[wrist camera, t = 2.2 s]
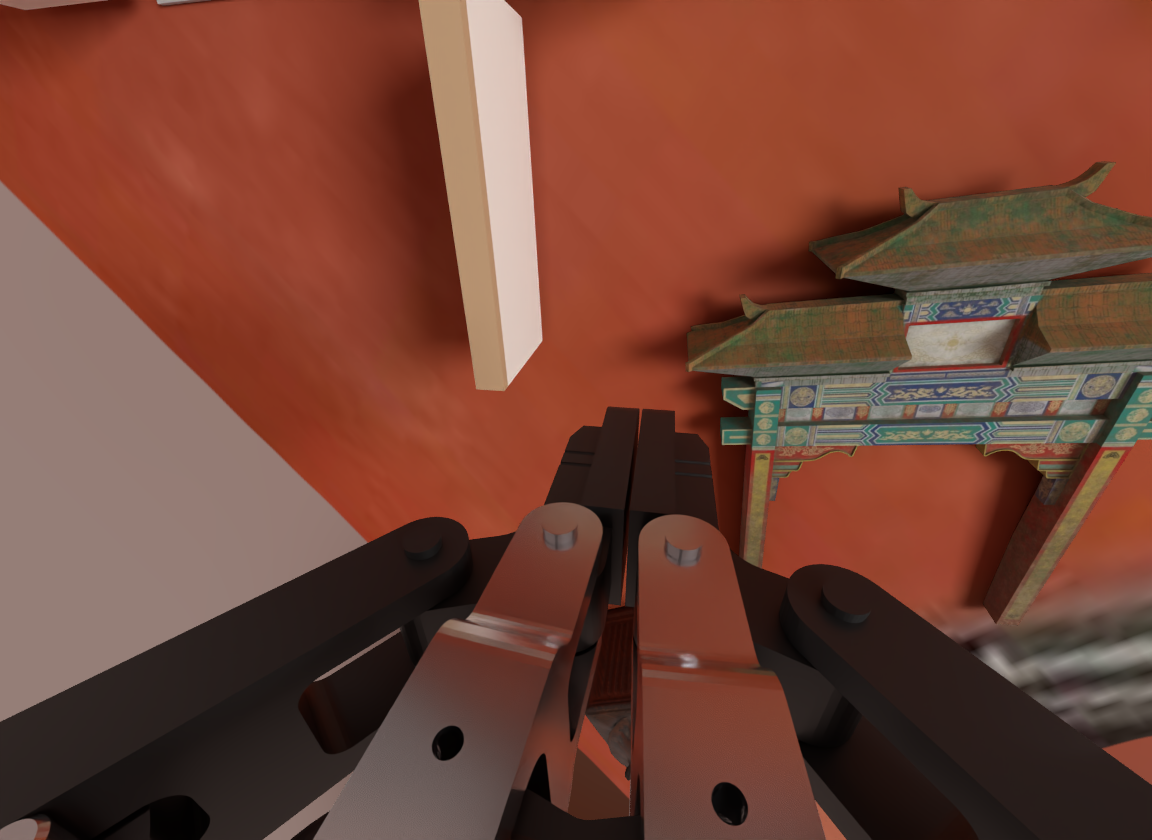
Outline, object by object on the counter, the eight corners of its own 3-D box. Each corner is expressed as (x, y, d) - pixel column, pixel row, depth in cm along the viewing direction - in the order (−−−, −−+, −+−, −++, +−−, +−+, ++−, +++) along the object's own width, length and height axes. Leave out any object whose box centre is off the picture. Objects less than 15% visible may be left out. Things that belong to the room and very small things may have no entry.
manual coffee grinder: (590, 612, 43) (544, 860, 28) (701, 590, 39) (720, 869, 23) (655, 705, 48) (647, 954, 33) (758, 695, 44) (804, 976, 29)
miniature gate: (690, 621, 36) (682, 227, 20) (688, 566, 40) (681, 208, 25) (1105, 653, 30) (1568, 118, 14) (1047, 583, 34) (1348, 119, 18)
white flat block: (491, 20, 21) (412, -44, 15) (521, 17, 21) (454, -50, 15) (520, 339, 29) (476, 389, 23) (542, 340, 29) (504, 390, 22)
